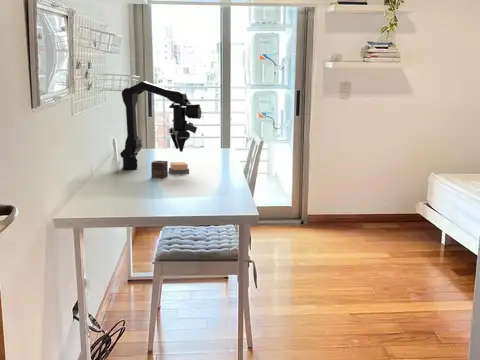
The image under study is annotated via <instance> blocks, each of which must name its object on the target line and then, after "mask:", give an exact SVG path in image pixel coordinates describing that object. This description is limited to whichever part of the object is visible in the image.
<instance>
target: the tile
mask: <svg viewBox="0 0 480 360" xmlns="http://www.w3.org/2000/svg"><path fill="white" fill-rule="evenodd" d="M169 164H170V165H169V168H172V169H173V170H188V169H189V168H188V167H189V166H188V163H187V162H185V161H180V162H179V161H175V162H170V163H169Z"/></svg>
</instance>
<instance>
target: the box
mask: <svg viewBox="0 0 480 360" xmlns="http://www.w3.org/2000/svg"><path fill="white" fill-rule="evenodd" d="M168 163H169V162H168V160H153V161H152V162H151V163H150V164H151V178H152V179H166V178H167V177H168V176H169V168H168V167H169V166H168Z"/></svg>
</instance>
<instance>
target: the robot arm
mask: <svg viewBox="0 0 480 360" xmlns="http://www.w3.org/2000/svg"><path fill="white" fill-rule="evenodd" d="M145 91H147V92H149V93H152V94H155V95H157V96H161V97H164V98H166V99H167V100H169V101H170V102H172V103H171V104H170V105H169V107H168V108H169V109H172V113H173V114H172V115H173V116H172V117H173V118H172V120H171V121H172V127H170V128H169V129H168V133H169V135H170V138H171V141H172V142H173V145H174V147H175V150H179V152H181V153H183V151H184V147H185V144H186V142H187V140H189V139H190V137H191V136H190V135H191V133H193V134H196V132H197V129H198V126H196V125H194V123H193V122H188V121H187V120H186V117H187V119H197V120H198V119H199V120H201V117H202V108H201V104H199V103H198V104H192V103H191V102H190V100H189V98H188V95H187V92H185V91H183V90H178V89H176V90H175V89H169V88H167V87H163V86H159V85H156V84H153V83H151V82H148V81H146V80H145V81H143V80H142V81H140V82H138V83H137V84H135V85H132V86H130V87H126V88H124V89H122V91H121V99H122V101H123V105H124V106H125V115H126V117H125V118H126V132H127V135H126V139H125V142H124V149H123V150H122V151H121V152H120V153H119V154H120V157H121V158H122V166H121V167H122V170H124V171H125V170H126V171H127V170H138V159H137V156H138V154H139V152H140V151H141V149H142V147H143V145H142V138H139V136H138V132H137V131H138V129H137V128H138V127H137V125H138V124H137V111H136V109H137V108H136V107H137V103H138V102H139V101H138V100H139V99H138V98H139V95H140V94H143V92H145Z"/></svg>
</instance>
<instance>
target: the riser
mask: <svg viewBox="0 0 480 360" xmlns="http://www.w3.org/2000/svg"><path fill="white" fill-rule="evenodd" d="M189 173H190V168H188V170H173V169H172V168H170V167H169V168H168V174H171V175H175V174H176V175H177V174H179V175H181V174H189Z"/></svg>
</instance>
